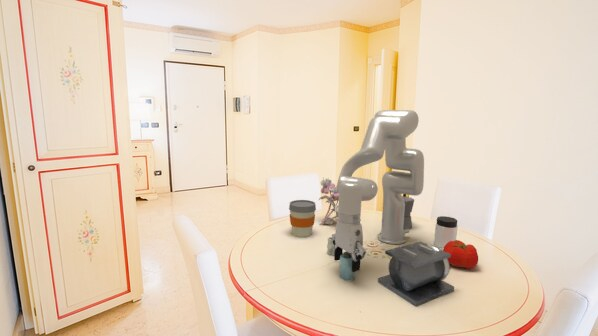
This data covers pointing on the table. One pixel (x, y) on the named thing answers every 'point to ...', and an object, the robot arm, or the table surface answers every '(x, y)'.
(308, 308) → the table surface
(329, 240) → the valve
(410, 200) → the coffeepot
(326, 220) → the flower
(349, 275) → the teal cylinder with cap
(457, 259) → the tomato
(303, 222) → the reusable coffee cup
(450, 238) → the jar
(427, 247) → the motor
